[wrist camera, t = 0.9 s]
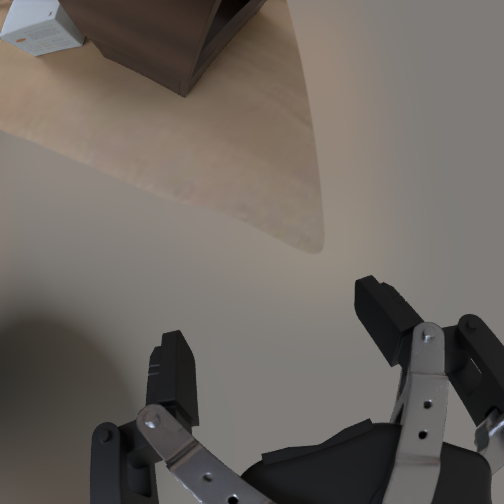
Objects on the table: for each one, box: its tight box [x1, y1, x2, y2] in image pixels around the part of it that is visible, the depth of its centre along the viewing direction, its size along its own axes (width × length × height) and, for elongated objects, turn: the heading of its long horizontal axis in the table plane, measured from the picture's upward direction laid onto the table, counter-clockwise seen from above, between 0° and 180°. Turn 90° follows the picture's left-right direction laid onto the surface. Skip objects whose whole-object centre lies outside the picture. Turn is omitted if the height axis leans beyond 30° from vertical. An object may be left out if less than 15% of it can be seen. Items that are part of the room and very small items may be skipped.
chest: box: [90, 0, 267, 98], centre depth 21 cm, size 17×13×9 cm
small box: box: [0, 0, 85, 56], centre depth 15 cm, size 8×6×10 cm
